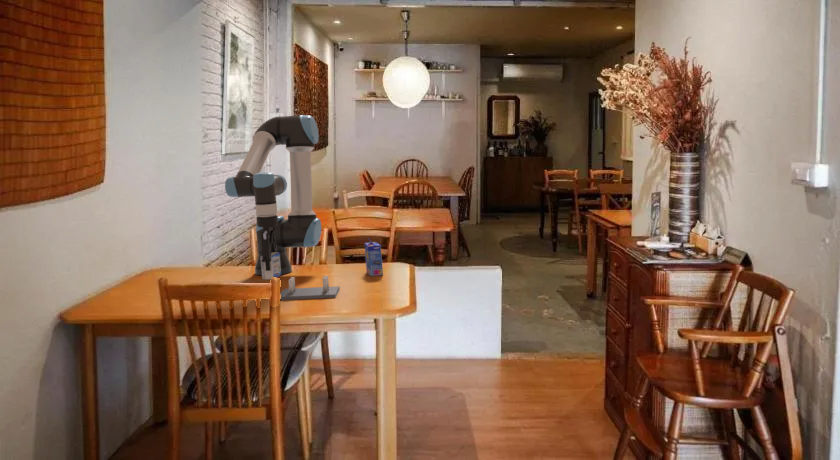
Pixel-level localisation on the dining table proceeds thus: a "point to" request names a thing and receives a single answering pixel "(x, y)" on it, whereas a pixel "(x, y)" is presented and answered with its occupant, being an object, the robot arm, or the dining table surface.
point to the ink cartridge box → (373, 258)
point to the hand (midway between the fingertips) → (271, 276)
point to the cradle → (309, 291)
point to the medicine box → (275, 265)
